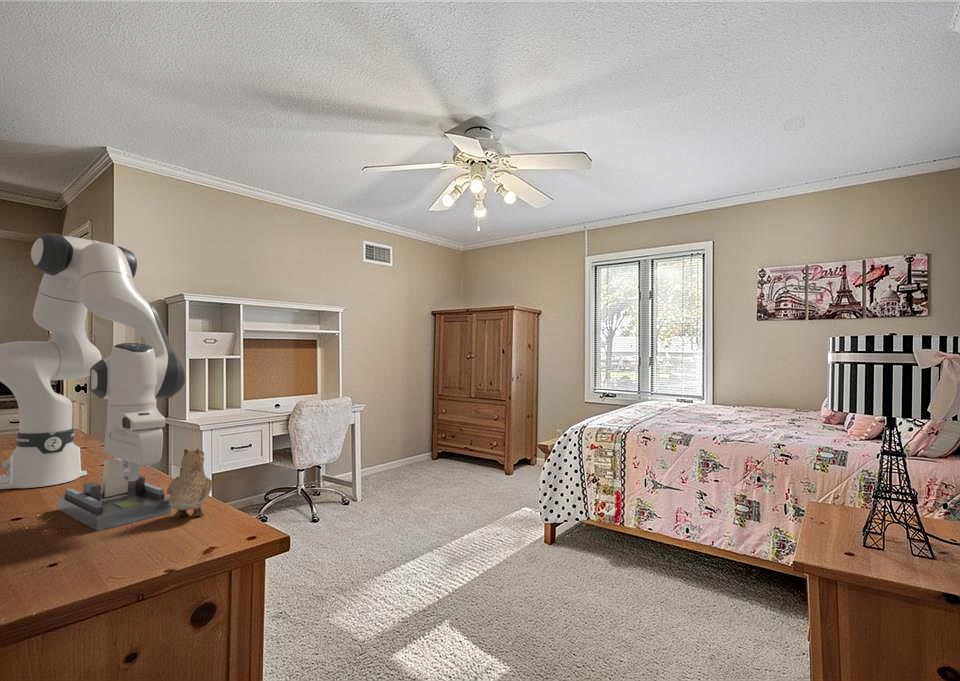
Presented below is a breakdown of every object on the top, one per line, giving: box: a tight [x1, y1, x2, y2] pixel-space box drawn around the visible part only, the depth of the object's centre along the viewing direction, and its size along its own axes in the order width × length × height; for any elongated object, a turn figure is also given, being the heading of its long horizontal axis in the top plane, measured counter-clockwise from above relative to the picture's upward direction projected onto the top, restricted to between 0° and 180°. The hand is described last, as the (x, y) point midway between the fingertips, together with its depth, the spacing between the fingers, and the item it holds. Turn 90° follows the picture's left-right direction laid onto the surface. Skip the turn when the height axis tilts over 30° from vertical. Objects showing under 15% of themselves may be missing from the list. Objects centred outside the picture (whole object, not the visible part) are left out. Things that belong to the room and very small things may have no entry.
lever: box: [101, 457, 128, 499], centre depth 112 cm, size 2×5×9 cm, turn 146°
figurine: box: [166, 448, 213, 519], centre depth 109 cm, size 9×10×15 cm
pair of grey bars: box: [64, 482, 165, 513], centre depth 112 cm, size 19×13×2 cm
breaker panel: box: [57, 474, 172, 532], centre depth 112 cm, size 23×14×7 cm, turn 56°
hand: (130, 480), depth 108 cm, fingers closed
